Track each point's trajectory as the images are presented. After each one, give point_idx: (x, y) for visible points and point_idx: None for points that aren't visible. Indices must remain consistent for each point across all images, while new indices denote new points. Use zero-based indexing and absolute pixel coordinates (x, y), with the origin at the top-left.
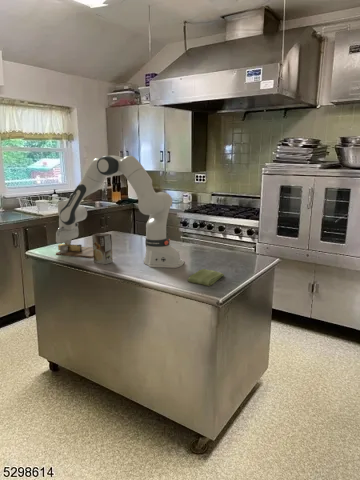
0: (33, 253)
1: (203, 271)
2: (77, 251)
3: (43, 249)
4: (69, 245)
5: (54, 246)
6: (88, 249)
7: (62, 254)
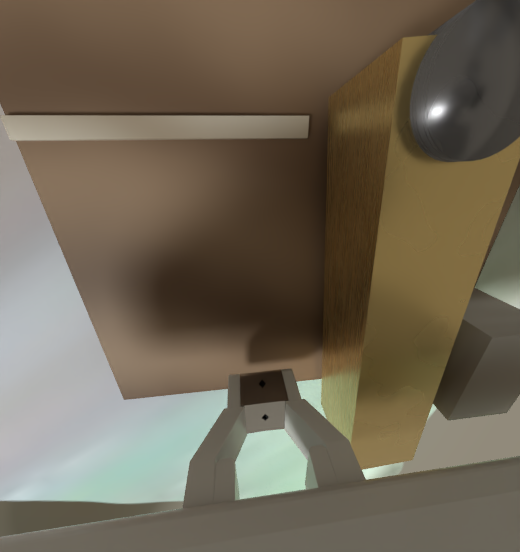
0: (393, 471)
1: None
2: None
3: (291, 486)
4: (436, 336)
5: None
6: (167, 13)
7: None
